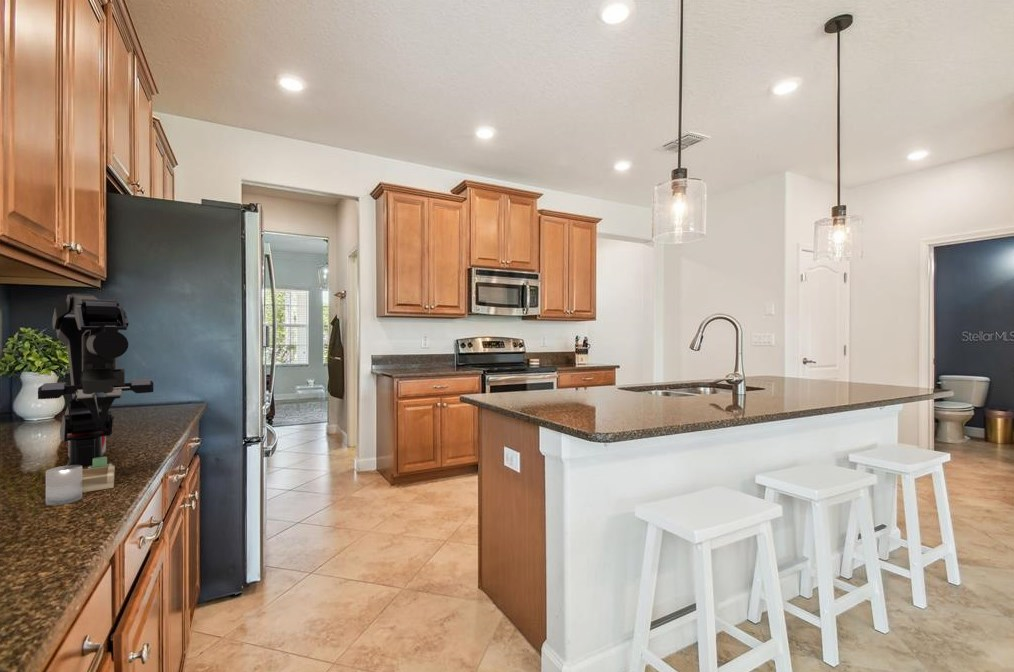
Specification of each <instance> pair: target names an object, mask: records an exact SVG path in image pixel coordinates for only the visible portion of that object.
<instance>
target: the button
mask: <svg viewBox="0 0 1014 672" xmlns="http://www.w3.org/2000/svg"><path fill="white" fill-rule="evenodd" d="M107 464H108V456H104V457H97V458H93V465H92V466H93V468H97V467H104V466H107Z"/></svg>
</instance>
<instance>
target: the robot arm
mask: <svg viewBox="0 0 1014 672" xmlns="http://www.w3.org/2000/svg"><path fill="white" fill-rule="evenodd" d="M129 323H130V322H129V319H128V315H127V313H126V309H124V307H123V305H121V304H120V302H119V300H117V299H101V298H100V299H99V298H97V296H96V295H93V294H91V293H88V294H87V293H71V294H67V296H66V300H64V301H62V302H61V303H59V304H58V305H56V306H55V307H54V310H53V316H52V323H51V324H52V329H53V331H54V330H55V331H56V332H55V333H56V337H57V340H58V341H60V342H61V343H62V344H63V345H65V347H66V349H67V358H68V367H69V377H70V385H67V382H66V381H65V382H45V383H43V384H42V385H40V386H39V387H38V389H37V400H49V399H50V400H51V399H59V398H61V397H62V396H63V395H72V396H71V397H72V399H71V400H70V402H69V403H68V405H67V407H66V410H65V411H64V415H62V418H61V423H60V426H59V427H60V428H59V439H60V440H61V441H62V442H68V441H70V458H69V459H68V460H67V462H66V465H65V466H67V465H82V467H83V466H93V458H97V457H105V455H102V436H106V437H110V436H111V435H112V434H113V425H114V421H115V416H114V415H113V414H112V411H111V410H110V408H111V406H112V404H113V403H114V401H115V400H116V399H121V398H122V392H123V391H125V392H126V391H127V392H128V391H132V392H133V393H135V394H144V393H145V394H146V393H147V394H148V393H149V394H150V393H154V381H153V379H152V378H131V381H129V382H125V381H126V380H125V378H126V377H125V375H126V374H125V372H126V371H125V368H118V367H117V364H118V363H117V359H118V358H119V357H121V356H123V355H125V353H126V352H127V351H128V349H129V341H128V339H127V337H126V336H125V334H122V332H119V331H127V330H128V327H129ZM100 393H103V394H104V395H103V396H100V395H99V394H100ZM96 431H97V432H96ZM88 432H89V433H88ZM68 433H70V434H71V435H68ZM80 433H81V434H80ZM72 434H73V435H72Z"/></svg>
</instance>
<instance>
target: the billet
mask: <svg viewBox="0 0 1014 672" xmlns="http://www.w3.org/2000/svg"><path fill="white" fill-rule="evenodd" d="M66 465H67V464H66ZM66 465H63V466H56V467H55V466H54V467H52V468H48V469H47V470H45V505H46V506H62V505H67V504H71V503H75V502H79V500H82V499H83V492H82V469H83V466H82V465H67V466H66Z"/></svg>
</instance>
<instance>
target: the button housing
mask: <svg viewBox="0 0 1014 672" xmlns="http://www.w3.org/2000/svg"><path fill="white" fill-rule="evenodd" d="M111 465H113V463H107V466H111ZM89 468H93V465H88V466H87V469H89Z"/></svg>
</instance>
